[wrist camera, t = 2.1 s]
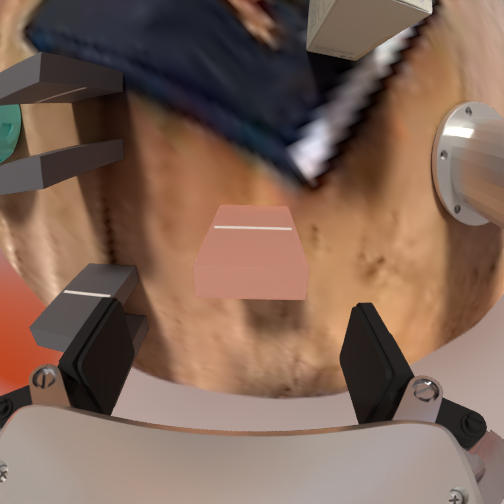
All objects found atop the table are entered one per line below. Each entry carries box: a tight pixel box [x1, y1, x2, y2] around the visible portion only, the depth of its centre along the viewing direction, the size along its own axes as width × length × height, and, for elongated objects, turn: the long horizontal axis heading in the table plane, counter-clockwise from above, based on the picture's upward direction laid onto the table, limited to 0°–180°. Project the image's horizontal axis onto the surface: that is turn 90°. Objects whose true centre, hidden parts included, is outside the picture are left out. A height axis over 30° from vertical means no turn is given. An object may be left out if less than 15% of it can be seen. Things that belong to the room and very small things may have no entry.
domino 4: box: [114, 314, 149, 407], centre depth 24 cm, size 2×6×11 cm, turn 89°
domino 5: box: [193, 205, 309, 300], centre depth 19 cm, size 2×6×11 cm, turn 89°
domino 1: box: [0, 52, 123, 106], centre depth 14 cm, size 2×6×11 cm, turn 89°
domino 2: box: [0, 139, 124, 195], centre depth 17 cm, size 2×6×11 cm, turn 89°
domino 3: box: [29, 263, 139, 352], centre depth 22 cm, size 2×6×11 cm, turn 89°
